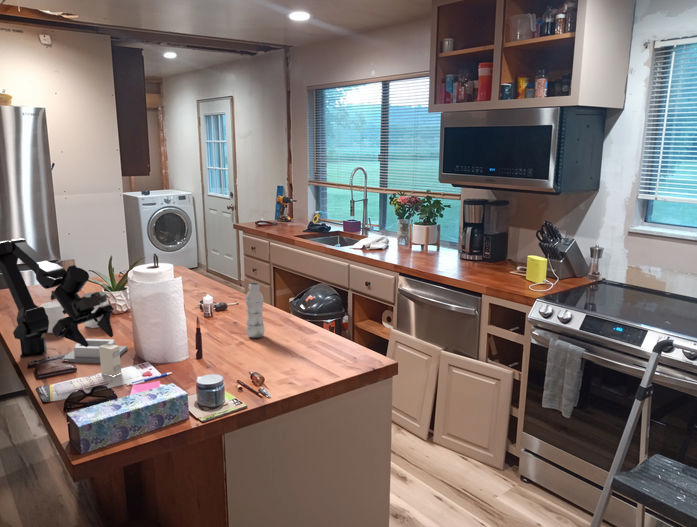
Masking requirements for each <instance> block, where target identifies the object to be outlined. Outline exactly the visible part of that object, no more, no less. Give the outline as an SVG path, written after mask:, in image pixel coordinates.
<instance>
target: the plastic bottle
mask: <svg viewBox="0 0 697 527" xmlns="http://www.w3.org/2000/svg"><path fill="white" fill-rule="evenodd" d="M260 289H261V287H260V283H259V282H250V283H248V292H246V295H245V297H244V301H245V307H246V316H247V317H246V318H247V319H246V328H245V331H246V335H247V336H248V337H249V338H251V339H252V338H253V339H259V338H262V337H263V336H264V335H265V330H266V329H265V325H264V316H263V310H264V309H263V306H264V295H263V294H262V292H261V291H260Z"/></svg>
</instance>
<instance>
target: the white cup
mask: <svg viewBox="0 0 697 527" xmlns="http://www.w3.org/2000/svg"><path fill="white" fill-rule="evenodd" d="M40 307H43V308H44V309H45V312H46V314H47V316H48V319H49V327H48V333H47V334H54V333H53V327H54V326H55V324H56V323H57V322H58V320H60V319H63V318H66V314H63V312H62V311H63V310H64V309H63V307H62V306H61V305H60V303H59V302H58V301H57V300H55V301H49V302H44V303H42V304H41V305H40Z"/></svg>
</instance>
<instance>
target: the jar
mask: <svg viewBox="0 0 697 527" xmlns="http://www.w3.org/2000/svg"><path fill="white" fill-rule="evenodd" d="M96 292H97V291H92V292H87V293H85V294H83V296H82V297H84V298H88V297H91V294H93V293H96ZM98 292H99V293H100V294H101V296H102V298H103V301H101V302H100V305H97V306H95V307H94V308H95V309H94V310H93V311H92V312H91V313H94V312H95V311H96V310H97V309H98V308H99V307H100V306H103V305H106V304H109V299H108V296H107V295H108V294H107V292H105V291H98ZM97 323H98V322H96V321H95V320H94V319H93V320H90V321H87V322H84V323H83V324H84V327H87V328H90V329H97V328H100V327H99V326H98V325H97Z"/></svg>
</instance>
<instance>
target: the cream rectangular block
mask: <svg viewBox="0 0 697 527" xmlns="http://www.w3.org/2000/svg"><path fill="white" fill-rule="evenodd" d="M119 346H120V345H116V344H115V345H113V344H108V343H106V344H104V345H101V346H99V352H100V363H99V364H100V371H101V375H103V374H107V375H112V376H114V375H117V374H119V373H121V374H122V367H121V366H122V364H121V355H120V351H119ZM107 375H106V376H107ZM117 376H118V375H117Z"/></svg>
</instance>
